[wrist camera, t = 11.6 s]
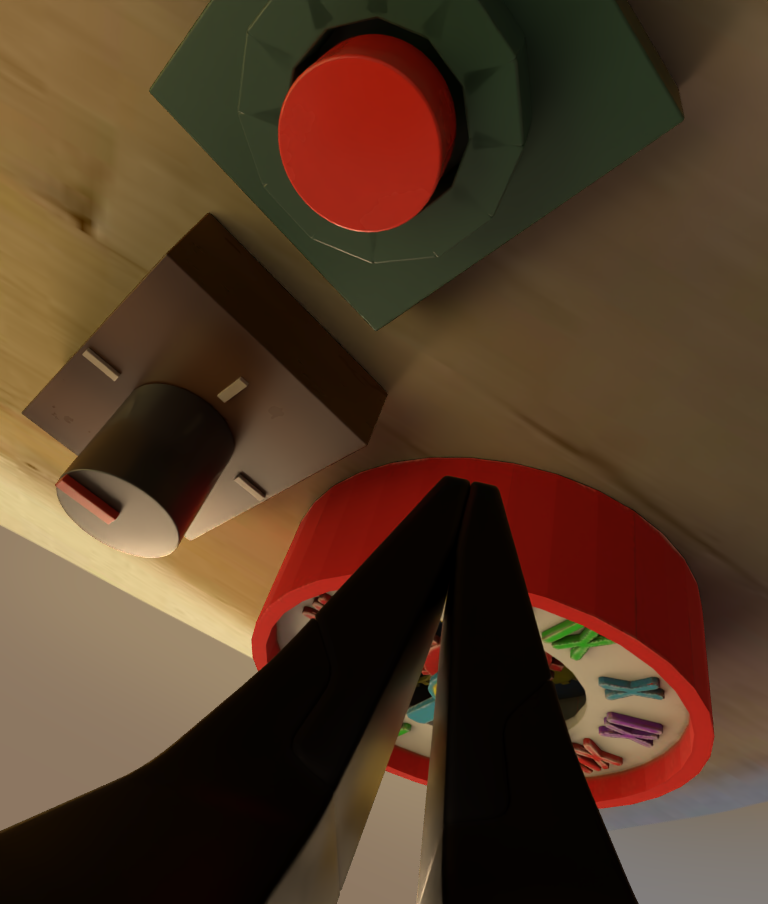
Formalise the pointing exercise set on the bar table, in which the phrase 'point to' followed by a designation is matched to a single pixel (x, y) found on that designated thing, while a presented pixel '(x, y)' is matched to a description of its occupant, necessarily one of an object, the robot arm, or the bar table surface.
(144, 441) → the pointer knob
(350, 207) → the red push button
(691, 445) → the bar table surface
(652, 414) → the bar table surface
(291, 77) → the button box
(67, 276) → the bar table surface
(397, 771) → the toy clock
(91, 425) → the dial panel
